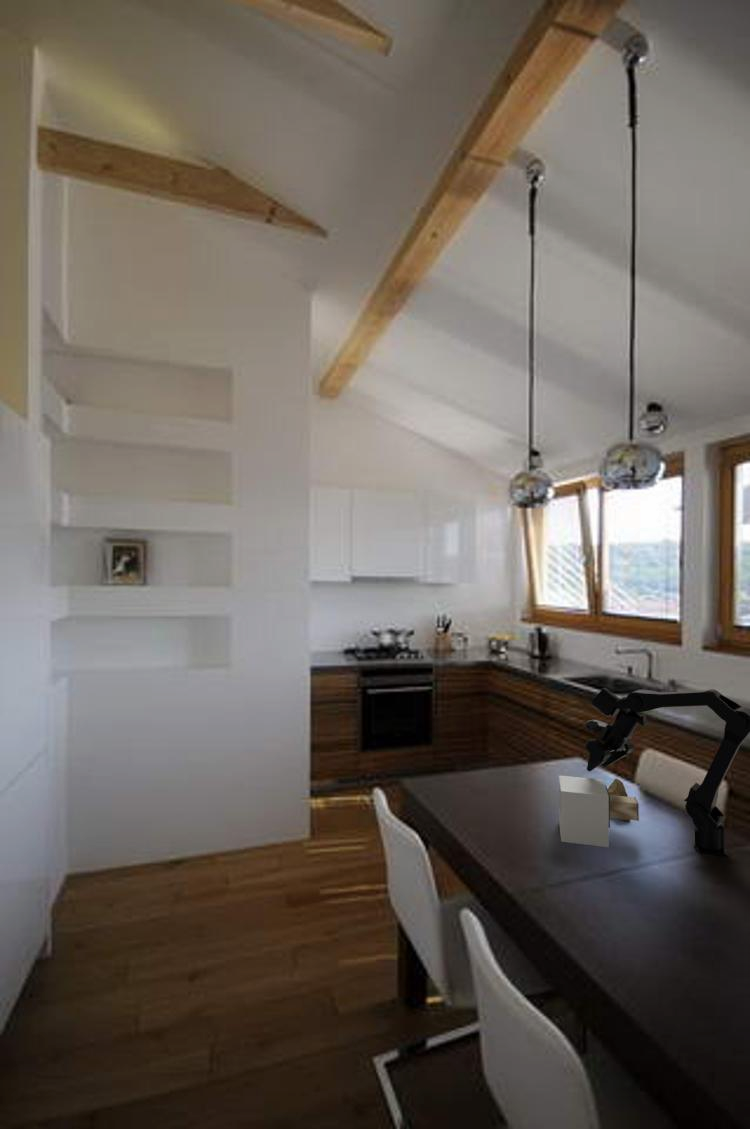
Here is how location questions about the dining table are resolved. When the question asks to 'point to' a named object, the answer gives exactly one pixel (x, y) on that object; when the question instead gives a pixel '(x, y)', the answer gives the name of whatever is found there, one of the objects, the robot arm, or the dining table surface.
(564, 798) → the off-white upright box
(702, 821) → the robot arm
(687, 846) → the dining table surface
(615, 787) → the rock
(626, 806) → the peg
